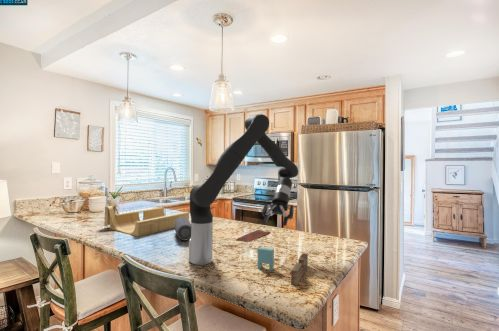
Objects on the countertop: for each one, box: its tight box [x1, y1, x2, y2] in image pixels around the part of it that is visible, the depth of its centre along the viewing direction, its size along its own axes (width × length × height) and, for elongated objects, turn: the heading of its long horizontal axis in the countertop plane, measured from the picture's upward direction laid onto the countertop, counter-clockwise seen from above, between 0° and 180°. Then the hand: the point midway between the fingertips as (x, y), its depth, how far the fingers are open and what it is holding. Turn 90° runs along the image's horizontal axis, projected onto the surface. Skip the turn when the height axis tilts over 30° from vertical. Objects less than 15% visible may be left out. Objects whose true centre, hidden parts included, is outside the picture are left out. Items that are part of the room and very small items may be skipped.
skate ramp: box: [103, 203, 190, 237], centre depth 179 cm, size 40×35×16 cm
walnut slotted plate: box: [290, 252, 309, 286], centre depth 102 cm, size 2×20×5 cm, turn 158°
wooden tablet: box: [235, 229, 271, 243], centre depth 157 cm, size 27×10×2 cm, turn 146°
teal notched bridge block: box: [257, 246, 275, 272], centre depth 108 cm, size 6×2×8 cm, turn 67°
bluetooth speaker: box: [174, 217, 191, 241], centre depth 153 cm, size 23×9×10 cm, turn 19°
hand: (274, 224), depth 118 cm, fingers open, 8 cm apart
